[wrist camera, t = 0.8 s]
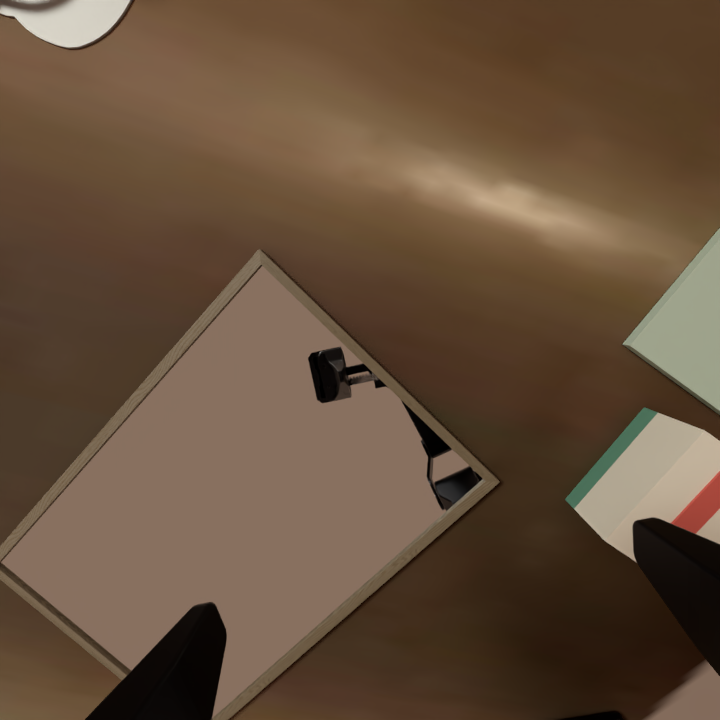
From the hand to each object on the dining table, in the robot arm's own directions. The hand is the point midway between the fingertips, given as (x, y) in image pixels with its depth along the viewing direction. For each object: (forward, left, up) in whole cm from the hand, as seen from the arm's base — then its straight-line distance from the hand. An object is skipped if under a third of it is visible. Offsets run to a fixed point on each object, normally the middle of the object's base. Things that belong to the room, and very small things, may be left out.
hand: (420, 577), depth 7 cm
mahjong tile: (-8, -13, -14) cm, 20 cm away
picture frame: (-5, +12, -14) cm, 19 cm away
